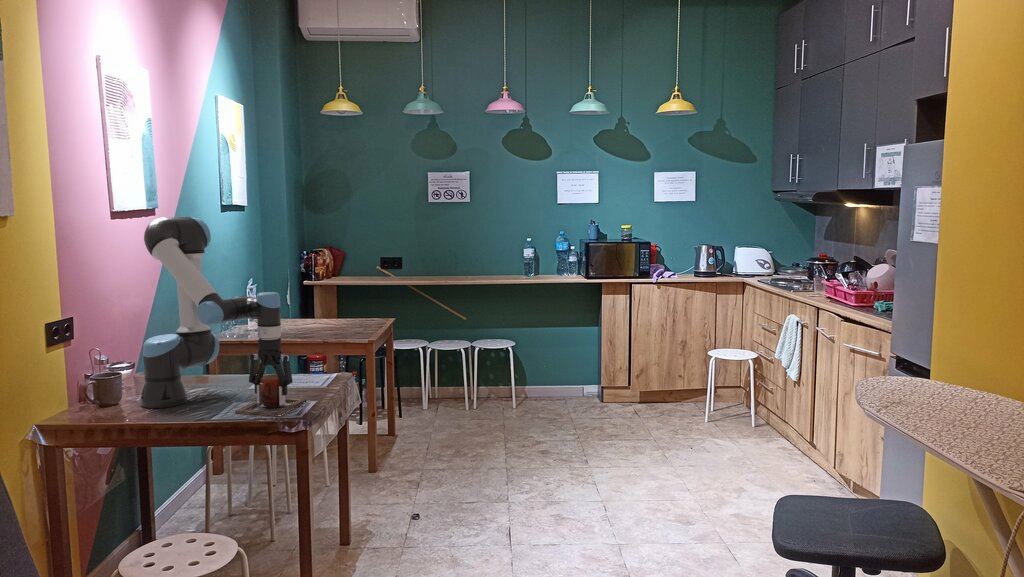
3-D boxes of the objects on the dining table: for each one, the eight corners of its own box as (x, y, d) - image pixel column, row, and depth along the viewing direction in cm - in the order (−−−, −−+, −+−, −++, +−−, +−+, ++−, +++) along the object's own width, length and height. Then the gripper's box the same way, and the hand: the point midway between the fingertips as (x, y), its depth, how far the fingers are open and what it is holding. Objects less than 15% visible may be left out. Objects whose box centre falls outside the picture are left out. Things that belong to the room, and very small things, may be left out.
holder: (235, 413, 250) (235, 410, 250) (264, 399, 269) (264, 396, 269) (279, 416, 247) (279, 413, 247) (306, 401, 266) (306, 399, 266)
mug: (268, 401, 265) (267, 373, 264) (291, 403, 263) (290, 374, 262) (250, 410, 253) (249, 381, 252) (274, 412, 251) (273, 382, 250)
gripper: (236, 338, 254) (238, 404, 256) (292, 341, 250) (293, 408, 252) (247, 334, 261) (249, 399, 264) (302, 337, 257) (304, 402, 260)
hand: (271, 403), depth 258 cm, fingers closed on mug, 7 cm apart
